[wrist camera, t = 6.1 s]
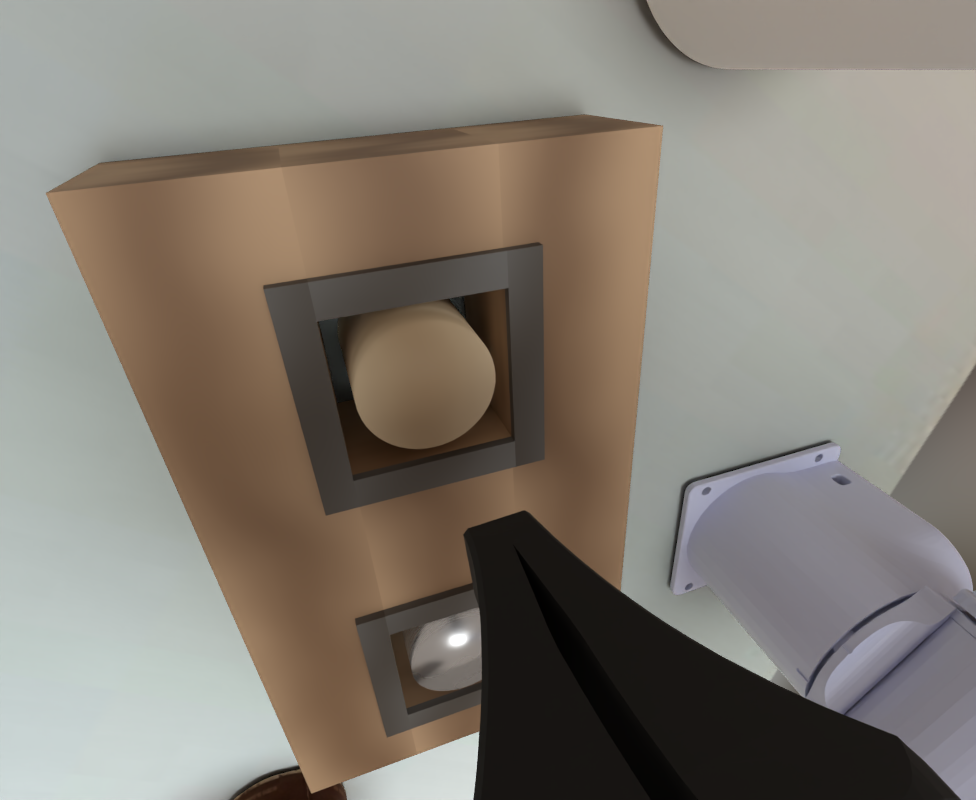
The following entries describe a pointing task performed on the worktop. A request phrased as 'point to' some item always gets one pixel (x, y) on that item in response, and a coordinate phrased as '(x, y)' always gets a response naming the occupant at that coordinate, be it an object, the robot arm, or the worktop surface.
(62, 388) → the worktop surface
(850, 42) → the beverage can
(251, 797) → the coffee cup
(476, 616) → the metal peg
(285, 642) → the socket block
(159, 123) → the worktop surface
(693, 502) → the robot arm
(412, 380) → the maple peg
